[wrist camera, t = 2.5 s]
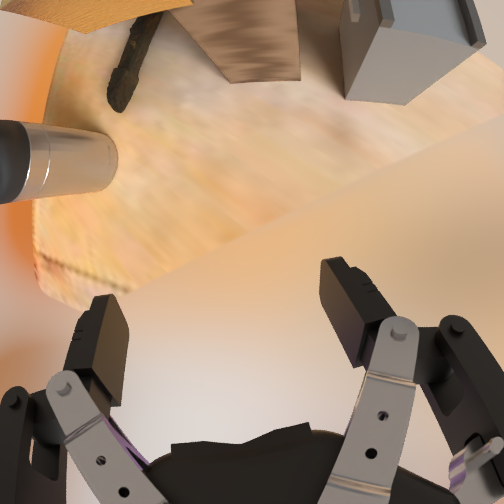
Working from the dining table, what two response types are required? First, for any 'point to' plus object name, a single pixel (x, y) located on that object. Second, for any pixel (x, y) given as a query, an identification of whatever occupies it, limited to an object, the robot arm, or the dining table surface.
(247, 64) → the brown tall rectangular frame
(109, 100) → the hand tool
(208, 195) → the dining table surface
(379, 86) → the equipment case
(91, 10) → the rod
